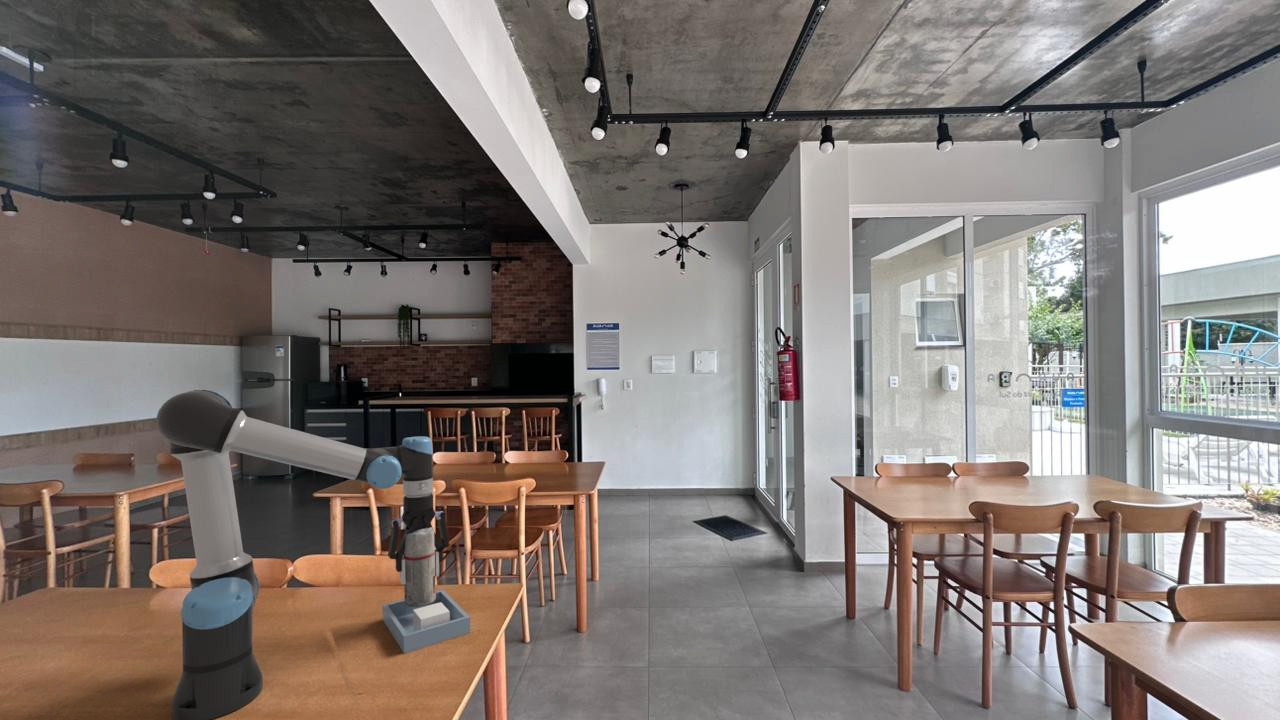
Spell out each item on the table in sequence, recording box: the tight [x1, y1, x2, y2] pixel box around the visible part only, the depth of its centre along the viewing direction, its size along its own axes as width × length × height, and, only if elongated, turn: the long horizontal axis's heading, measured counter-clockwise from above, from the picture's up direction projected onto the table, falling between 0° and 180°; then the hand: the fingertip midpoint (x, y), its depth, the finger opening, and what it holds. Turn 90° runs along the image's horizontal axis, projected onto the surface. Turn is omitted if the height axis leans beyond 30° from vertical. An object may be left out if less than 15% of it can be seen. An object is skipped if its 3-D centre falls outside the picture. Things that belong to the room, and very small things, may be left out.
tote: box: [382, 589, 471, 654], centre depth 144 cm, size 16×22×5 cm
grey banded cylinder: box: [403, 526, 437, 607], centre depth 149 cm, size 8×8×20 cm
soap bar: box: [413, 602, 450, 632], centre depth 140 cm, size 7×7×6 cm
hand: (419, 578), depth 148 cm, fingers closed on grey banded cylinder, 8 cm apart
